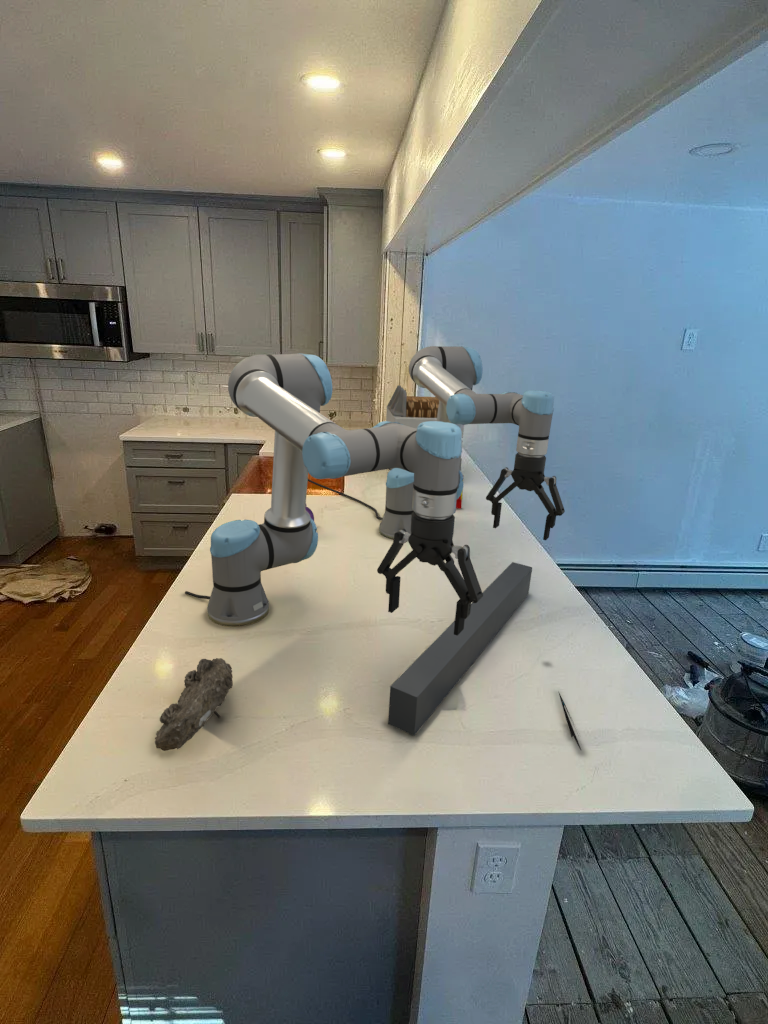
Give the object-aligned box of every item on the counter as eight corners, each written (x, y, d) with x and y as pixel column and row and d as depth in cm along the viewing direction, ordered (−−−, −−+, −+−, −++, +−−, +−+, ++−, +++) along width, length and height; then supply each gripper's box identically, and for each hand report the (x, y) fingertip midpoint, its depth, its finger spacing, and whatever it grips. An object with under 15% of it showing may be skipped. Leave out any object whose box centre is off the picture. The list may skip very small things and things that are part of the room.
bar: (508, 589, 163) (512, 561, 160) (528, 594, 161) (532, 567, 158) (387, 724, 108) (390, 686, 105) (414, 736, 106) (417, 697, 103)
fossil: (182, 659, 118) (233, 627, 113) (214, 689, 120) (265, 659, 115) (130, 744, 98) (189, 710, 93) (170, 778, 101) (229, 746, 96)
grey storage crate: (382, 463, 289) (386, 382, 275) (445, 464, 293) (451, 384, 279) (390, 482, 257) (394, 392, 243) (460, 483, 261) (468, 394, 247)
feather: (547, 667, 130) (553, 661, 129) (581, 755, 103) (588, 747, 102) (541, 664, 129) (547, 657, 129) (573, 750, 103) (580, 743, 102)
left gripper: (361, 503, 101) (357, 608, 108) (493, 536, 89) (480, 651, 96) (383, 493, 107) (378, 593, 114) (509, 522, 95) (496, 632, 102)
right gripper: (478, 448, 145) (471, 526, 152) (577, 465, 133) (564, 548, 140) (489, 443, 151) (481, 518, 158) (585, 459, 139) (571, 539, 146)
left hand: (425, 620), depth 105 cm, fingers open, 13 cm apart
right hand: (520, 532), depth 149 cm, fingers open, 13 cm apart
